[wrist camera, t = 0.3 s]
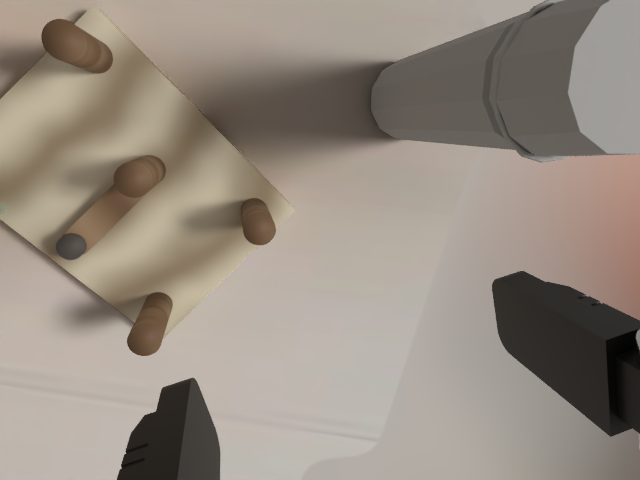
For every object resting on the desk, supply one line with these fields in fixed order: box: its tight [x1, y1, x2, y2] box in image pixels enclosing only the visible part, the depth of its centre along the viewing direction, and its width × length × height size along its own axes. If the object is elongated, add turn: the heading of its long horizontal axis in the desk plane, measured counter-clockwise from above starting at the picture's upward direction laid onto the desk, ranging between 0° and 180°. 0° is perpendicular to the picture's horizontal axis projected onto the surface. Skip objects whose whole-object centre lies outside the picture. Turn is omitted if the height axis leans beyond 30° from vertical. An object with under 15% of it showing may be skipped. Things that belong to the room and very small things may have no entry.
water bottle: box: [371, 0, 640, 162], centre depth 30 cm, size 9×8×25 cm
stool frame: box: [0, 5, 295, 356], centre depth 34 cm, size 22×17×9 cm
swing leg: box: [56, 155, 166, 260], centre depth 33 cm, size 11×2×7 cm, turn 133°
